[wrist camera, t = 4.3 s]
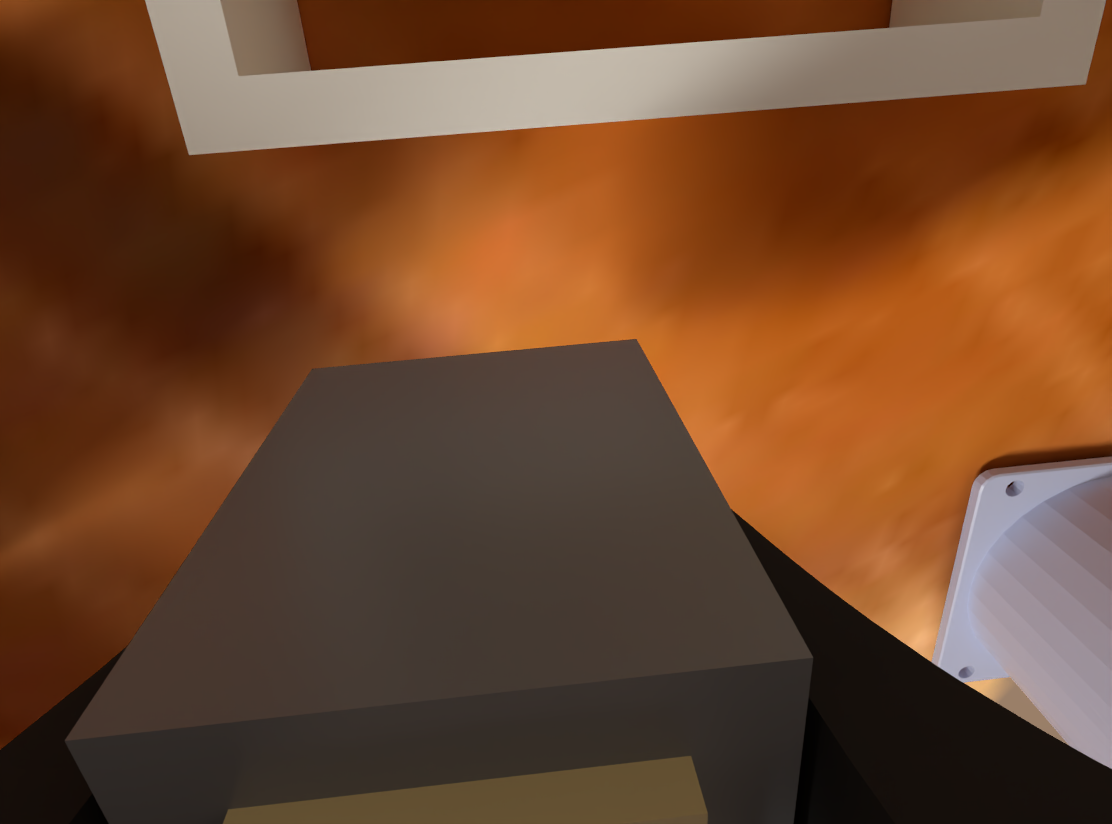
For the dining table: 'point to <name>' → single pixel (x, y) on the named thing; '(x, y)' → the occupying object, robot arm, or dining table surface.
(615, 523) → the block
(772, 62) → the cream square frame
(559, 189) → the dining table surface
